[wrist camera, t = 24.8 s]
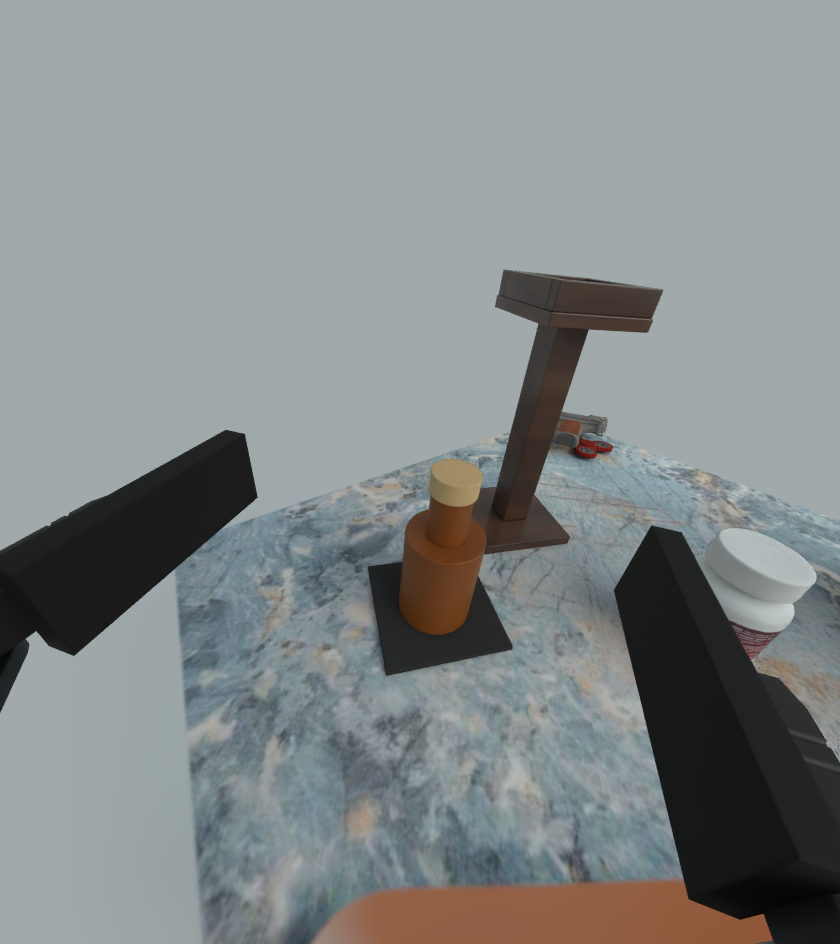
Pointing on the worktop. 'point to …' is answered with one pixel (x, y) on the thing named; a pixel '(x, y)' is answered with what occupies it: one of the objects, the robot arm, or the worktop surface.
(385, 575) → the mat
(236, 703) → the worktop surface
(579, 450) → the fidget spinner
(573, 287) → the holder
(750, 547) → the pill bottle
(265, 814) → the worktop surface
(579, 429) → the pistol
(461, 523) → the bottle
